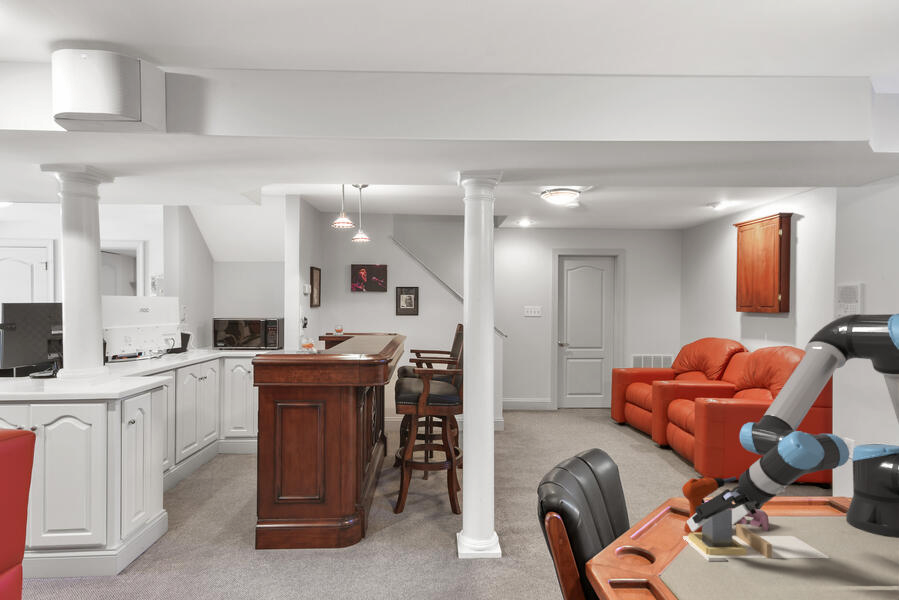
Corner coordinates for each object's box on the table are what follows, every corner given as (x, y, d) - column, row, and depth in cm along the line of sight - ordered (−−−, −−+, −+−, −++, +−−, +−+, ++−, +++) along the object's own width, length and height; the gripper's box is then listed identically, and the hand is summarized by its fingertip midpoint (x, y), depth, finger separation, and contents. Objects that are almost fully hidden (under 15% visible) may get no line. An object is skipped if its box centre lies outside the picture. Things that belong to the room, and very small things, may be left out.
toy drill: (747, 523, 148) (741, 470, 148) (693, 539, 142) (688, 484, 142) (733, 517, 153) (727, 465, 153) (680, 532, 147) (675, 479, 147)
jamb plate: (793, 539, 141) (793, 523, 142) (829, 561, 128) (829, 544, 129) (683, 538, 141) (683, 523, 141) (708, 561, 128) (708, 544, 128)
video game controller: (769, 536, 147) (768, 510, 150) (769, 533, 144) (768, 507, 147) (729, 528, 152) (729, 503, 155) (728, 526, 149) (728, 500, 152)
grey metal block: (720, 542, 137) (720, 503, 137) (732, 550, 132) (731, 509, 132) (702, 542, 137) (701, 503, 137) (712, 550, 132) (712, 509, 132)
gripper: (733, 501, 116) (681, 544, 129) (811, 490, 125) (754, 530, 138) (713, 470, 121) (664, 514, 134) (789, 461, 130) (736, 503, 143)
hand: (710, 523), depth 136 cm, fingers open, 13 cm apart
